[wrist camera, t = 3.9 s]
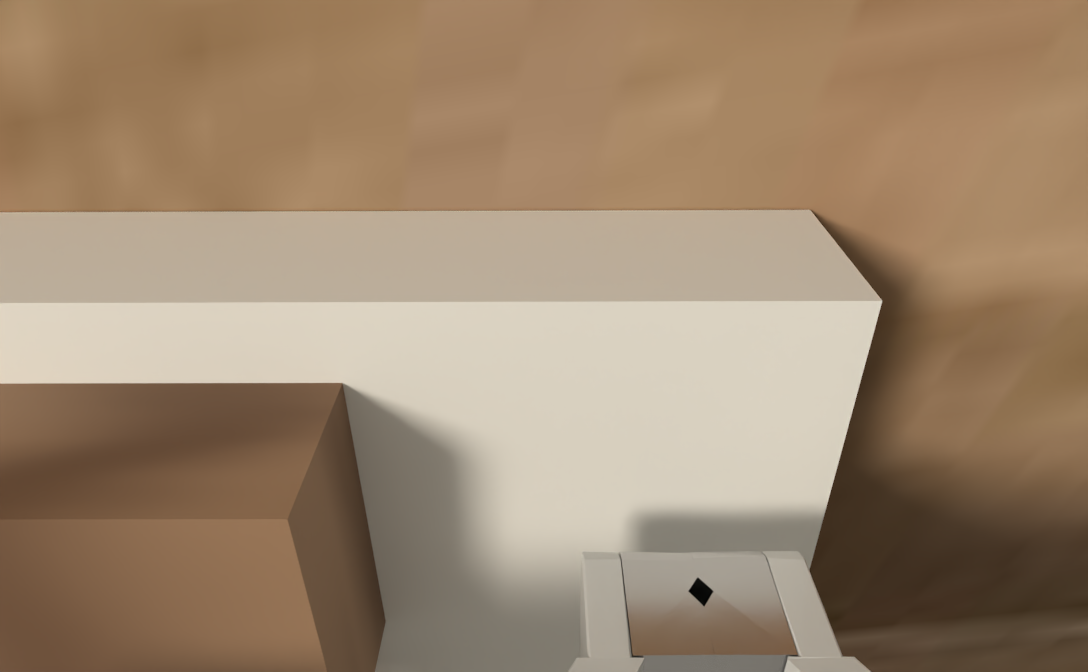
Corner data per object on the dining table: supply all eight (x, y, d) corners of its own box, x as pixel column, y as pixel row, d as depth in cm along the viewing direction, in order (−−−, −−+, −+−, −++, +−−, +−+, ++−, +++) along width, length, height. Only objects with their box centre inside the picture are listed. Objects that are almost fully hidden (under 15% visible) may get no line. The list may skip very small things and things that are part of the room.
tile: (342, 383, 10) (286, 518, 8) (385, 621, 13) (352, 771, 11) (-99, 383, 10) (-273, 520, 8) (36, 621, 13) (-67, 771, 11)
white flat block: (809, 209, 12) (882, 301, 9) (710, 714, 19) (735, 842, 17) (-121, 212, 12) (-302, 303, 9) (136, 714, 19) (73, 842, 17)
